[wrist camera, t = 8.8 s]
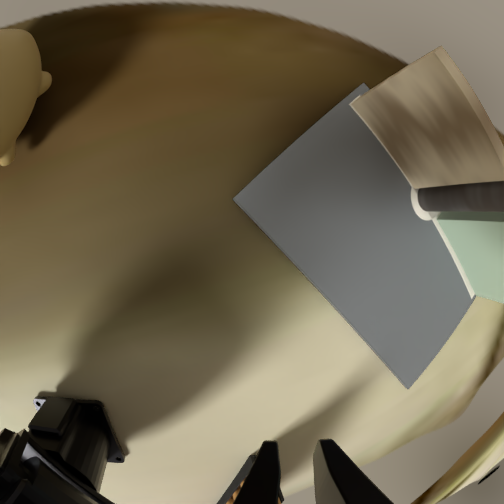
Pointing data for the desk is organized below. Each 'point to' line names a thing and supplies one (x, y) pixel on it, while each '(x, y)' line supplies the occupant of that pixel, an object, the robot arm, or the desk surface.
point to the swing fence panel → (478, 249)
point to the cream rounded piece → (18, 86)
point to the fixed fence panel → (438, 135)
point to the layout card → (363, 239)
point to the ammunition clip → (235, 486)
